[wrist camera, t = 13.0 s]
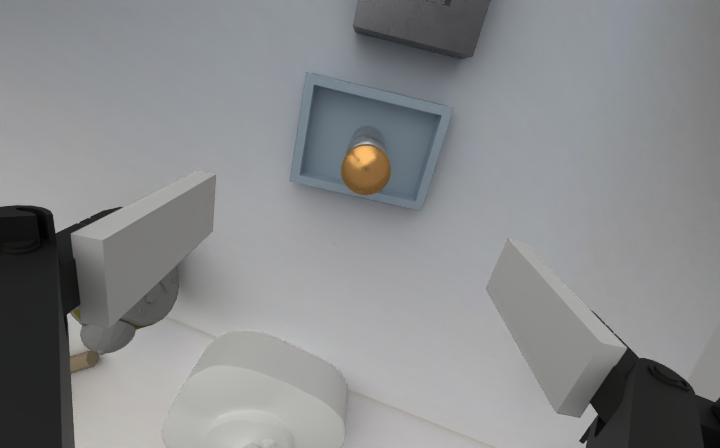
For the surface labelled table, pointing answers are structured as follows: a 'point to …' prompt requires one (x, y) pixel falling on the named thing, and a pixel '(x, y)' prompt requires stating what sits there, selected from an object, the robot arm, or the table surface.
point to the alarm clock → (131, 317)
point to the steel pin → (366, 162)
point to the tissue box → (258, 398)
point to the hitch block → (424, 23)
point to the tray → (377, 109)
